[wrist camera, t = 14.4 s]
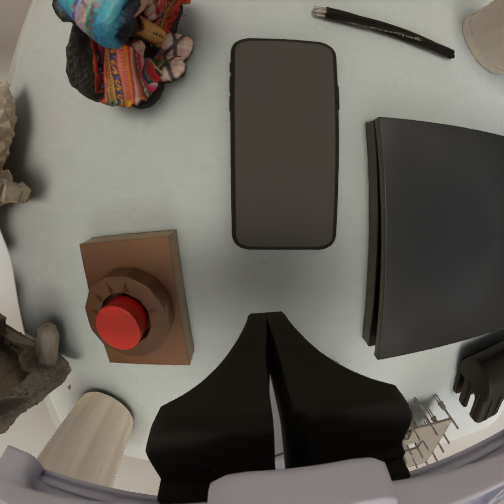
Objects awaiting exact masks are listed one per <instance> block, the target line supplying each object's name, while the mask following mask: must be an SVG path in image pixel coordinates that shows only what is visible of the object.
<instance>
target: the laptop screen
mask: <svg viewBox="0 0 504 504" xmlns="http://www.w3.org/2000/svg"><path fill="white" fill-rule="evenodd" d="M375 129H376V138H377V149H378V161H379V175H380V195H381V277H380V297H379V312H378V324H377V334H376V344H375V353H374V355H375V357H376V358H377V360H380V359H385V358H390V357H396V356H401V355H405V354H410V353H415V352H419V351H424V350H428V349H432V348H436V347H440V346H444V345H448V344H452V343H456V342H460V341H463V340H467V339H470V338H474V337H477V336H480V335H484V334H487V333H490V332H493V331H496V330H499V329H502V328H504V136H501V135H497V134H492V133H488V132H483V131H478V130H473V129H468V128H463V127H457V126H451V125H445V124H438V123H431V122H424V121H416V120H407V119H397V118H386V117H378V118H376V119H375Z"/></svg>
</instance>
